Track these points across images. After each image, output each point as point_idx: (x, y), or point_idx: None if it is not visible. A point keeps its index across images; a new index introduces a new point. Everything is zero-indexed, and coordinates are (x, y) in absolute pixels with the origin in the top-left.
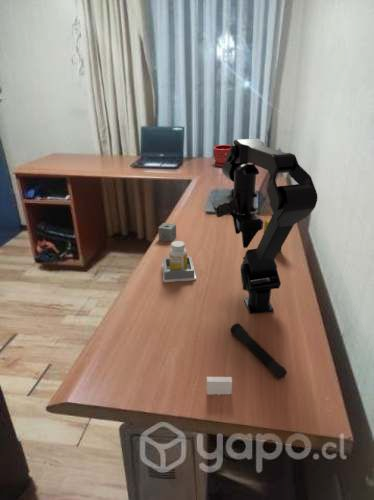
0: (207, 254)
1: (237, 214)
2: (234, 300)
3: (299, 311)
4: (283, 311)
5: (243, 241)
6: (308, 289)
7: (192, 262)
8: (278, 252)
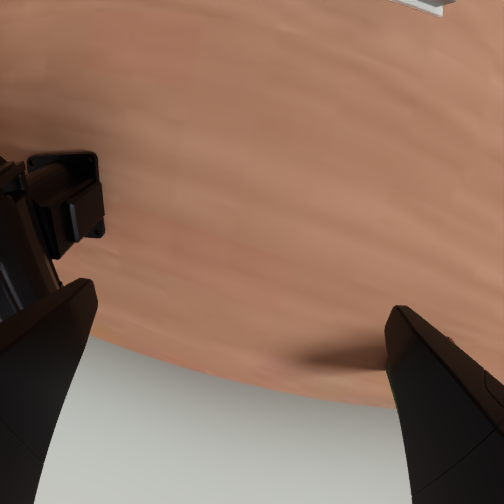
0: (491, 118)
1: (478, 490)
2: (97, 114)
3: None
4: None
5: (20, 313)
6: (155, 357)
7: (439, 15)
8: (387, 364)
